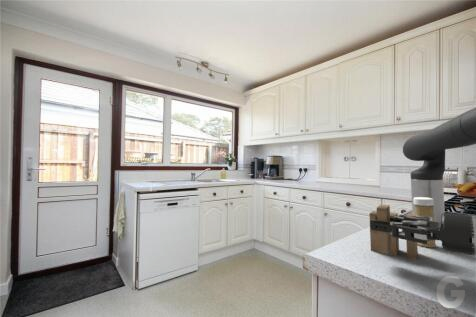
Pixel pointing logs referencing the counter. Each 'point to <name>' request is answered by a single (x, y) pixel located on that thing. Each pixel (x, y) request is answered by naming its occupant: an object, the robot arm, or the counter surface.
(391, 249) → the domino
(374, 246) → the end domino
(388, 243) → the domino
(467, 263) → the counter surface
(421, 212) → the sprinkles bottle
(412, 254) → the domino
